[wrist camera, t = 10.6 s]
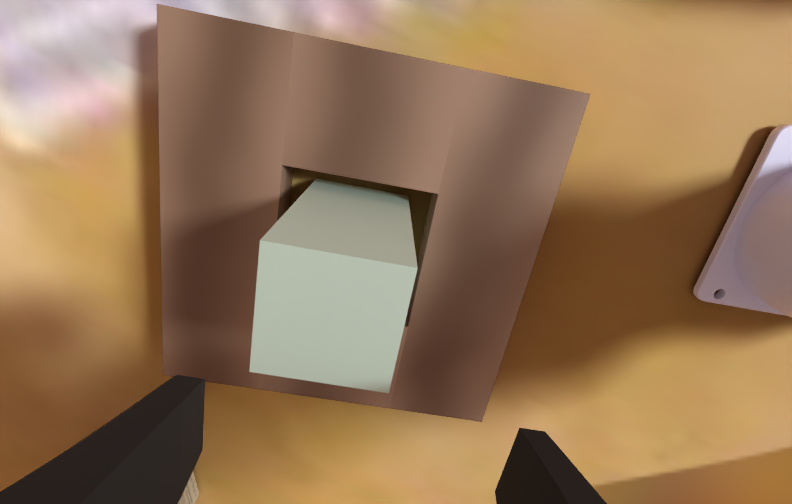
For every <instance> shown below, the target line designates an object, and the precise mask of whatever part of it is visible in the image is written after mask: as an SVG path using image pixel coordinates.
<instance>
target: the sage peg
mask: <svg viewBox="0 0 792 504" xmlns="http://www.w3.org/2000/svg"><path fill="white" fill-rule="evenodd" d="M417 269H418V267H417V259H416V252H415V244H414V237H413V229H412V222H411V214H410V207H409V199H408V196H407V195H402V194H396V193H391V192H386V191H381V190H375V189H370V188H365V187H360V186H354V185H349V184H344V183H338V182H333V181H328V180H323V179H317V178H316V179H315V181H314V182H313V183H312V184H311V185H310V186H309V187H308V188H307V189H306V190H305V191H304V193H303V194H302V195H301V196H300V197H299V198H298V199H297V200H296V201H295V202H294V204H293V205H292V206H291V207H290V208H289V209H288V210H287V211H286V212H285V213H284V214H283V216H282V217H281V218H280V219H279V220H278V221H277V222H276V223H275V224H274V225H273V226H272V228H271V229H270V230H269V231H268V232H267V233H266V234H265V235H264V236H263V237H262V238H261V240H260V245H259V257H258V270H257V282H256V295H255V307H254V320H253V332H252V344H251V357H250V369H249V372H254V373H260V374H267V375H273V376H280V377H286V378H293V379H299V380H306V381H312V382H319V383H325V384H332V385H338V386H345V387H351V388H358V389H364V390H371V391H377V392H384V393H389V390H390V386H391V382H392V377H393V373H394V369H395V364H396V360H397V356H398V351H399V347H400V343H401V338H402V334H403V330H404V325H405V321H406V317H407V312H408V308H409V304H410V299H411V295H412V291H413V286H414V282H415V278H416V273H417Z"/></svg>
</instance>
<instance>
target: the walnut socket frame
mask: <svg viewBox="0 0 792 504" xmlns="http://www.w3.org/2000/svg"><path fill="white" fill-rule="evenodd" d="M157 48H158V108H159V168H160V228H161V288H162V348H163V375H165V376H172V377H174V376H176V375H182V376H189V377H195V378H201V379H205V381H206V382H213V383H220V384H226V385H233V386H240V387H247V388H254V389H261V390H268V391H274V392H281V393H288V394H295V395H302V396H309V397H316V398H322V399H329V400H336V401H343V402H350V403H357V404H364V405H370V406H377V407H384V408H391V409H398V410H405V411H412V412H418V413H425V414H432V415H439V416H446V417H453V418H459V419H466V420H473V421H480V422H482V419H483V416H484V413H485V410H486V407H487V404H488V401H489V398H490V395H491V392H492V389H493V386H494V383H495V380H496V377H497V374H498V371H499V368H500V365H501V362H502V359H503V356H504V353H505V350H506V347H507V344H508V341H509V338H510V335H511V332H512V329H513V326H514V323H515V320H516V317H517V314H518V311H519V308H520V305H521V302H522V299H523V296H524V292H525V289H526V286H527V283H528V280H529V277H530V274H531V271H532V268H533V265H534V262H535V259H536V256H537V253H538V250H539V247H540V244H541V241H542V238H543V235H544V232H545V229H546V226H547V223H548V220H549V217H550V214H551V211H552V208H553V205H554V202H555V199H556V196H557V193H558V190H559V187H560V184H561V181H562V178H563V175H564V172H565V169H566V166H567V163H568V160H569V157H570V154H571V151H572V148H573V145H574V142H575V139H576V136H577V133H578V130H579V127H580V124H581V121H582V118H583V115H584V112H585V109H586V106H587V103H588V100H589V97H590V94H588V93H584V92H579V91H574V90H569V89H564V88H559V87H555V86H550V85H545V84H540V83H535V82H531V81H526V80H521V79H516V78H511V77H507V76H502V75H497V74H492V73H487V72H482V71H478V70H473V69H468V68H463V67H458V66H454V65H449V64H444V63H439V62H434V61H429V60H425V59H420V58H415V57H410V56H405V55H401V54H396V53H391V52H386V51H381V50H377V49H372V48H367V47H362V46H357V45H352V44H348V43H343V42H338V41H333V40H328V39H324V38H319V37H314V36H309V35H304V34H299V33H295V32H290V31H285V30H280V29H275V28H271V27H266V26H261V25H256V24H251V23H246V22H242V21H237V20H232V19H227V18H222V17H218V16H213V15H208V14H203V13H198V12H194V11H189V10H184V9H179V8H174V7H169V6H165V5H160V4H157ZM293 167H295V168H301V169H306V170H311V171H317V172H322V173H328V174H333V175H339V176H344V177H349V178H355V179H360V180H366V181H371V182H376V183H382V184H387V185H393V186H398V187H404V188H409V189H414V190H420V191H425V192H431V193H432V194H431V198H430V203H429V207H428V212H427V216H426V221H425V225H424V230H423V234H422V239H421V243H420V248H419V252H418V257H417V267H418V269H417V273H416V278H415V282H414V286H413V291H412V295H411V299H410V304H409V308H408V312H407V317H406V321H405V325H404V330H403V334H402V338H401V343H400V347H399V351H398V356H397V360H396V364H395V369H394V373H393V377H392V382H391V386H390V390H389V393H384V392H377V391H371V390H364V389H358V388H351V387H345V386H338V385H332V384H325V383H319V382H312V381H306V380H299V379H293V378H286V377H280V376H273V375H267V374H260V373H254V372H249V369H250V357H251V344H252V332H253V320H254V307H255V295H256V282H257V270H258V257H259V245H260V240H261V238H262V237H263V236H264V235H265V234H266V233H267V232H268V231H269V230H270V229H271V228H272V226H273V225H274V224H275V223H276V222H277V221H278V220H279V219H280V218H281V217H282V216H283V214H284V213H285V212H286V211H287V210H288V209H289V204H290V194H291V184H292V173H293Z"/></svg>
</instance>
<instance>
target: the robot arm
mask: <svg viewBox="0 0 792 504" xmlns="http://www.w3.org/2000/svg"><path fill="white" fill-rule="evenodd" d="M717 290H719V291H718V293H717V294H715V295H714V293H715V292H716V291H717ZM693 293H694V295H695V296H696V297H697V298H698V299H700V300H702V301H705V302H710V303H716V304H722V305H728V306H733V307H739V308H745V309H751V310H756V311H762V312H768V313H774V314H779V315H785V316H789V317H791V318H792V125H780V126H778V127H776V128H775V129H773V130H772V132H771V133H770V135H769V136H768V138H767V141H766V143H765V145H764V147H763V149H762V151H761V153H760V155H759V157H758V159H757V161H756V163H755V165H754V167H753V169H752V171H751V173H750V175H749V177H748V179H747V181H746V183H745V185H744V187H743V189H742V191H741V193H740V195H739V197H738V199H737V201H736V203H735V205H734V208H733V210H732V212H731V214H730V216H729V218H728V220H727V222H726V224H725V226H724V228H723V230H722V232H721V234H720V236H719V238H718V240H717V242H716V244H715V246H714V248H713V250H712V252H711V254H710V256H709V258H708V260H707V262H706V264H705V266H704V268H703V270H702V272H701V275H700V277H699V279H698V281H697V283H696V285H695V287H694V290H693ZM204 391H205V379H201V378H195V377H189V376H182V375H176V376H174V377H173V378H171V379H170V380H168V381H167V382H165V383H164V384H162V385H161V386H159V387H158V388H157V389H155V390H154V391H152V392H151V393H150V394H148V395H147V396H145V397H144V398H143V399H141V400H140V401H138V402H137V403H135V404H134V405H133V406H131V407H130V408H128V409H127V410H126V411H124V412H123V413H121V414H120V415H118V416H117V417H116V418H114V419H113V420H111V421H110V422H108V423H107V424H105V425H104V426H102V427H101V428H99V429H98V430H96V431H95V432H93V433H92V434H91V435H89V436H88V437H86V438H85V439H83V440H82V441H80V442H79V443H77V444H76V445H74V446H73V447H71V448H70V449H68V450H67V451H65V452H64V453H62V454H60V455H59V456H57V457H56V458H54V459H52V460H51V461H49V462H48V463H46V464H44V465H43V466H41V467H40V468H38V469H36V470H35V471H33V472H32V473H30V474H29V475H27V476H25V477H24V478H22V479H21V480H19V481H17V482H16V483H14V484H12V485H11V486H9V487H7V488H6V489H4V490H2V491H1V492H0V504H178V502H179V500H180V498H181V497H182V494H183V492H184V490H185V488H186V486H187V483H188V481H189V479H190V477H191V474H192V472H193V470H194V467H195V465H196V463H197V460H198V458H199V456H200V453H201V451H202V445H203V418H204ZM495 494H496V502H497V504H607V503H606V502H605V501H604V500H603V499H602V498H601V497H600V495H599V494H598V493H597V492H596V491H595V489H594V488H593V487H592V486H591V485H590V484H589V482H588V481H587V480H586V479H585V478H584V476H583V475H582V474H581V473H580V472H579V471H578V469H577V468H576V467H575V466H574V465H573V463H572V462H571V461H570V460H569V459H568V458H567V456H566V455H565V454H564V453H563V452H562V451H561V449H560V448H559V447H558V446H557V445H556V444H555V442H554V441H553V440H552V439H551V438H550V437H549V436H548V435H547V433H546V432H543V431H537V430H530V429H524V428H519V431H518V433H517V436H516V439H515V441H514V444H513V446H512V449H511V452H510V454H509V457H508V459H507V462H506V464H505V467H504V470H503V472H502V475H501V477H500V480H499V482H498V485H497V488H496V490H495Z"/></svg>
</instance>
